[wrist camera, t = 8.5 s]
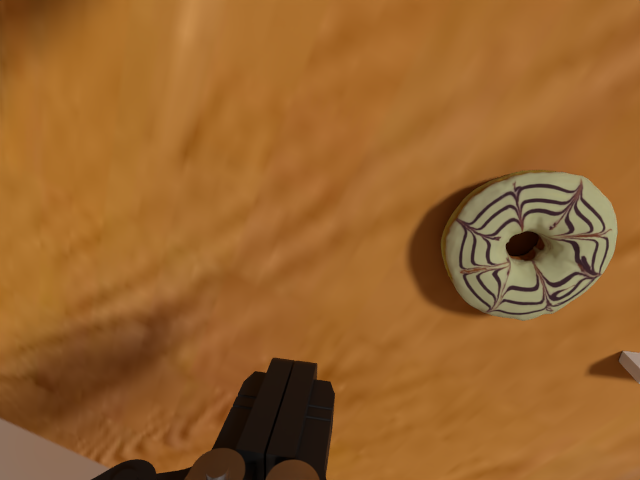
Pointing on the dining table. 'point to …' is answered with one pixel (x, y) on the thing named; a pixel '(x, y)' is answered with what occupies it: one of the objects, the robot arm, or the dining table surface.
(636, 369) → the white u-shaped bracket
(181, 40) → the dining table surface
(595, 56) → the dining table surface
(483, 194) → the decorated donut
